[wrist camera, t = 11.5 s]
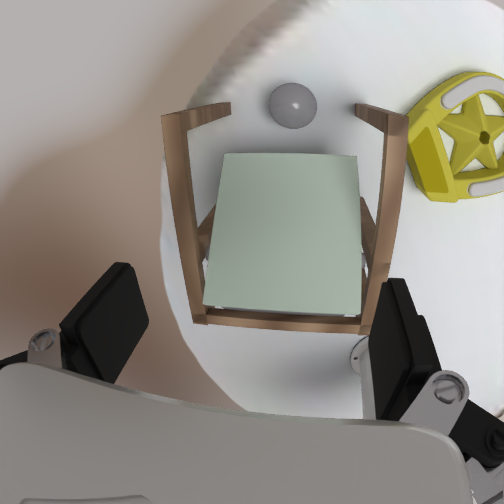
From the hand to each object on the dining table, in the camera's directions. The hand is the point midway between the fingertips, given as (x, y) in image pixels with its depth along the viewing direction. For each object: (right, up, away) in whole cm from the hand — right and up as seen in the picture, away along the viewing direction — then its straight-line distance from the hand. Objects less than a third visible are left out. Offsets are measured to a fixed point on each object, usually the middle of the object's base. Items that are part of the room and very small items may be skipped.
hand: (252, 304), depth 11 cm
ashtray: (+29, +18, +21) cm, 40 cm away
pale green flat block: (+4, +3, +22) cm, 23 cm away
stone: (+4, +18, +20) cm, 27 cm away
